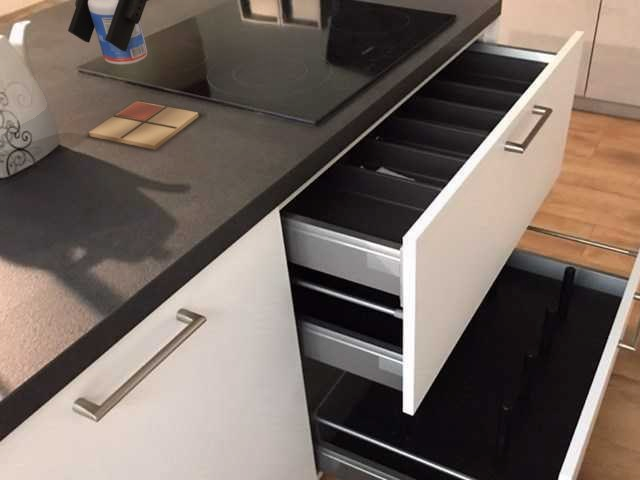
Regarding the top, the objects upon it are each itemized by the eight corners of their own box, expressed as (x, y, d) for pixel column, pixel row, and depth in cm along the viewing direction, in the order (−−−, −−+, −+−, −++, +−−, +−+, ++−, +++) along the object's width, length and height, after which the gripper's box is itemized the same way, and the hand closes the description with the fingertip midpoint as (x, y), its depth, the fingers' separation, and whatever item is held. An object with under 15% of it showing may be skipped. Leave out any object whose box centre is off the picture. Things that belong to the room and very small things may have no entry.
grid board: (91, 140, 86) (88, 131, 85) (138, 108, 93) (136, 100, 92) (156, 154, 83) (153, 144, 82) (199, 120, 90) (197, 111, 89)
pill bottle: (104, 52, 86) (81, -29, 79) (147, 47, 87) (127, -32, 81) (104, 68, 82) (79, -15, 76) (148, 63, 83) (128, -19, 77)
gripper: (237, -109, 80) (175, 69, 80) (124, -123, 87) (66, 42, 87) (200, -156, 73) (132, 39, 73) (80, -168, 80) (17, 12, 79)
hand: (97, 40), depth 80 cm, fingers closed on pill bottle, 5 cm apart
